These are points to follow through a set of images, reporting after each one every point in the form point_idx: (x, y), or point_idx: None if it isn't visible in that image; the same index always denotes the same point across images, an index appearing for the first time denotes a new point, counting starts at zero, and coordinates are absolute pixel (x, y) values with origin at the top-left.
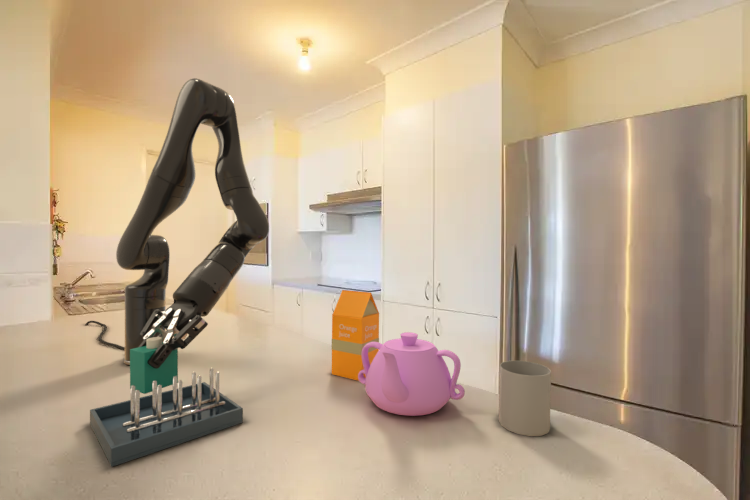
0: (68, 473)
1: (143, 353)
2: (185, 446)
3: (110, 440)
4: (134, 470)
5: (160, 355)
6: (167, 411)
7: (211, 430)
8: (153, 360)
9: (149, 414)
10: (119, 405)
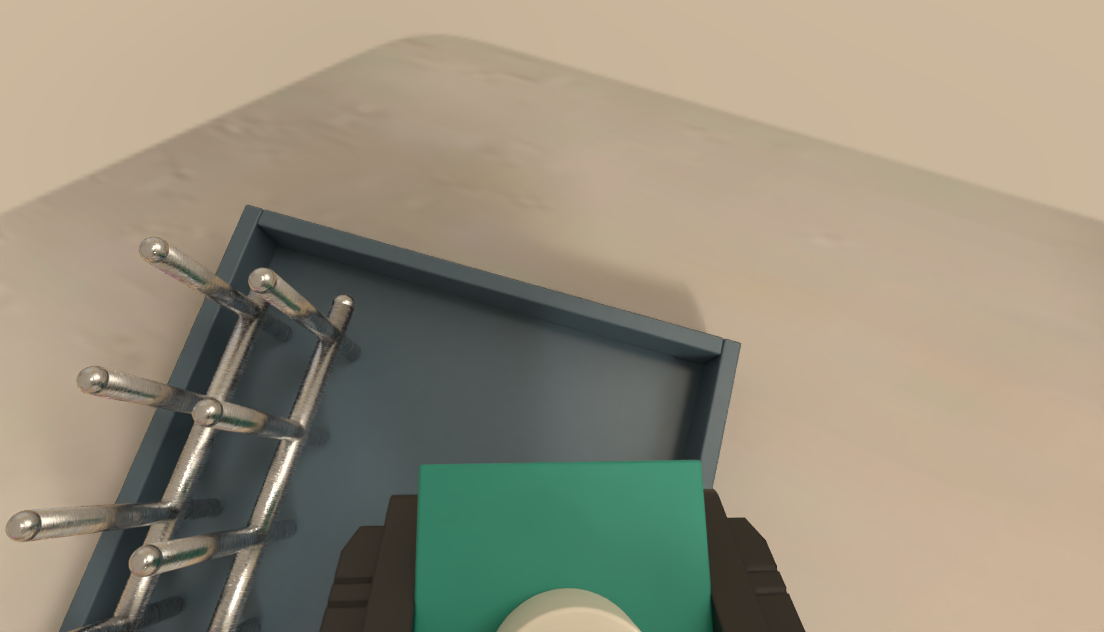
0: (374, 148)
1: (440, 465)
2: None
3: (318, 234)
4: None
5: (333, 596)
6: (261, 492)
7: None
8: (381, 531)
9: None
10: None
